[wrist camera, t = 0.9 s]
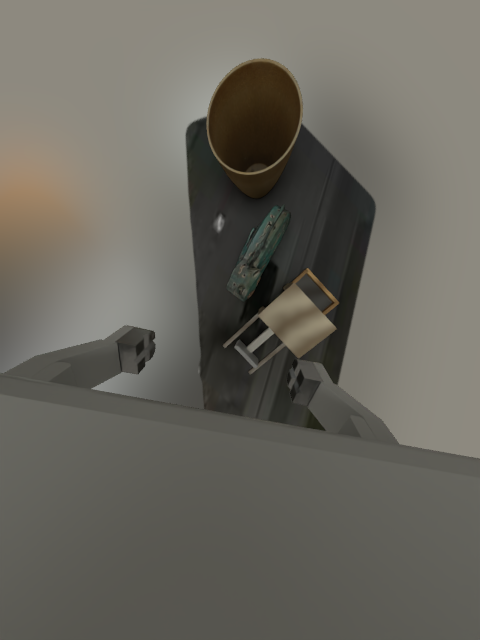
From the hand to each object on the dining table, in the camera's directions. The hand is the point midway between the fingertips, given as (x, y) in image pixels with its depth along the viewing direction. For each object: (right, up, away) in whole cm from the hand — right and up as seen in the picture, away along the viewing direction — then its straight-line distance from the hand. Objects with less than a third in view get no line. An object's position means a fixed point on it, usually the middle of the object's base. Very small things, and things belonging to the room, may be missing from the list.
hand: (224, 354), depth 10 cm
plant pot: (+5, +36, +32) cm, 48 cm away
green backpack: (+6, +18, +35) cm, 40 cm away
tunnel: (+11, +1, +38) cm, 39 cm away
